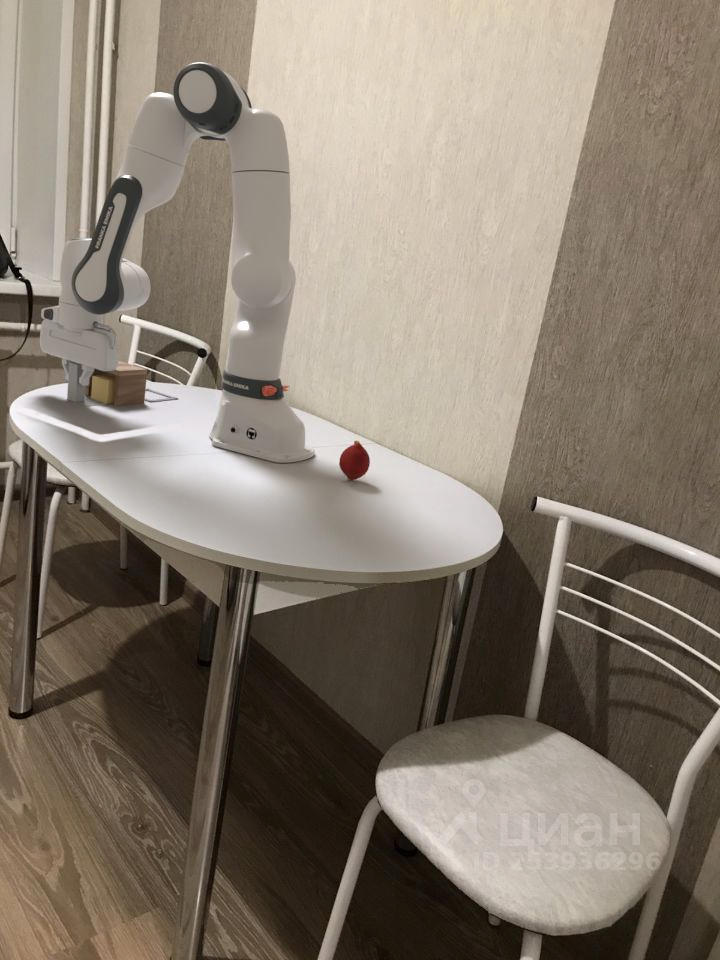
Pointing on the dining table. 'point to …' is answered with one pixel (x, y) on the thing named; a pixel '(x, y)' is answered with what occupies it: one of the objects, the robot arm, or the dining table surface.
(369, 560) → the dining table surface
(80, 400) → the grey angled piece
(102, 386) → the block
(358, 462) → the onion
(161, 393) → the thin grey frame
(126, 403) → the brown wooden box
